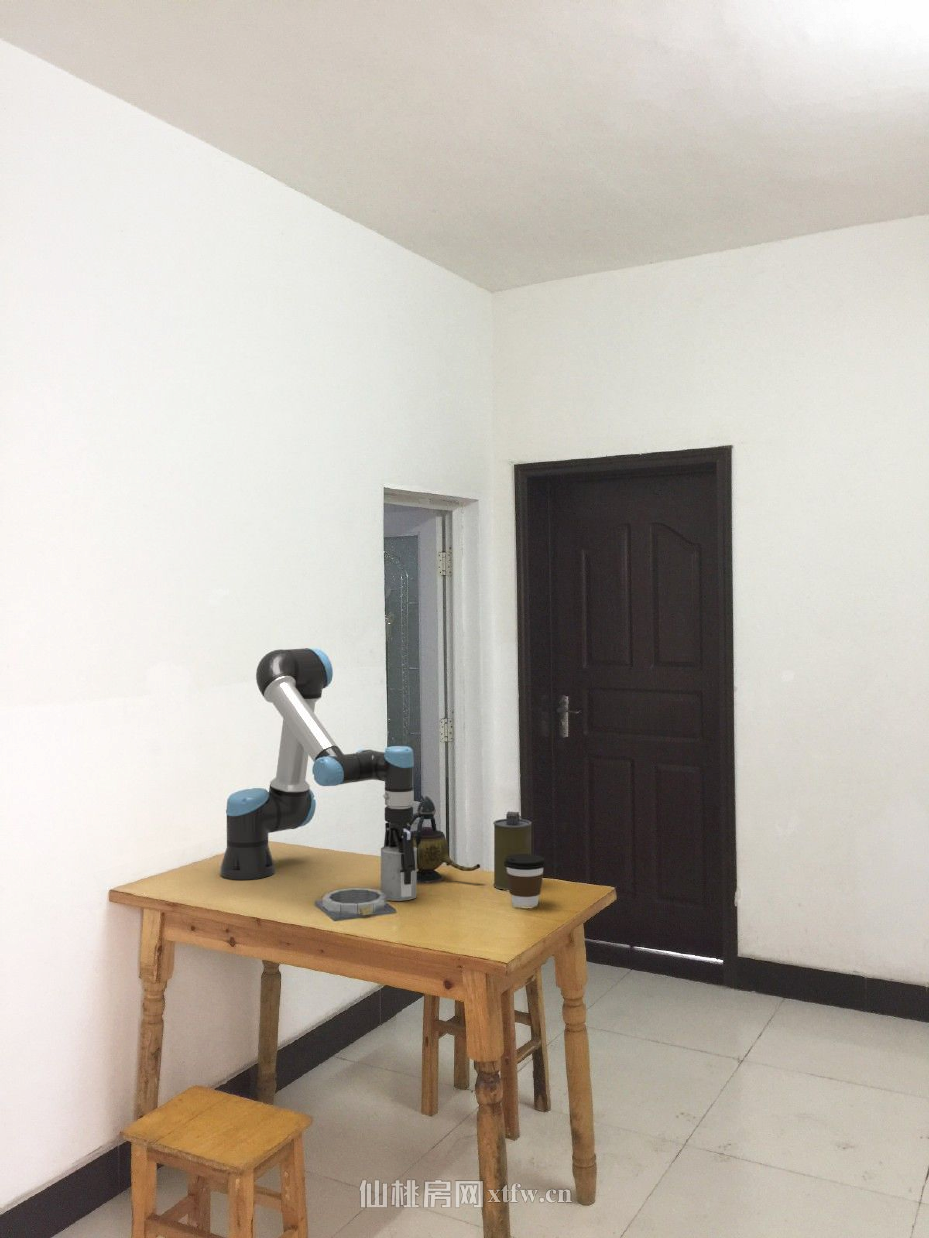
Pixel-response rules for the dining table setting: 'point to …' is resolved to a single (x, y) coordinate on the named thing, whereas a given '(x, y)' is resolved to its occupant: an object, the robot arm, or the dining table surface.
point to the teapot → (431, 845)
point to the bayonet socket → (354, 903)
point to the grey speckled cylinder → (395, 874)
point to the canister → (509, 844)
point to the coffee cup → (524, 878)
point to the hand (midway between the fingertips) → (398, 891)
